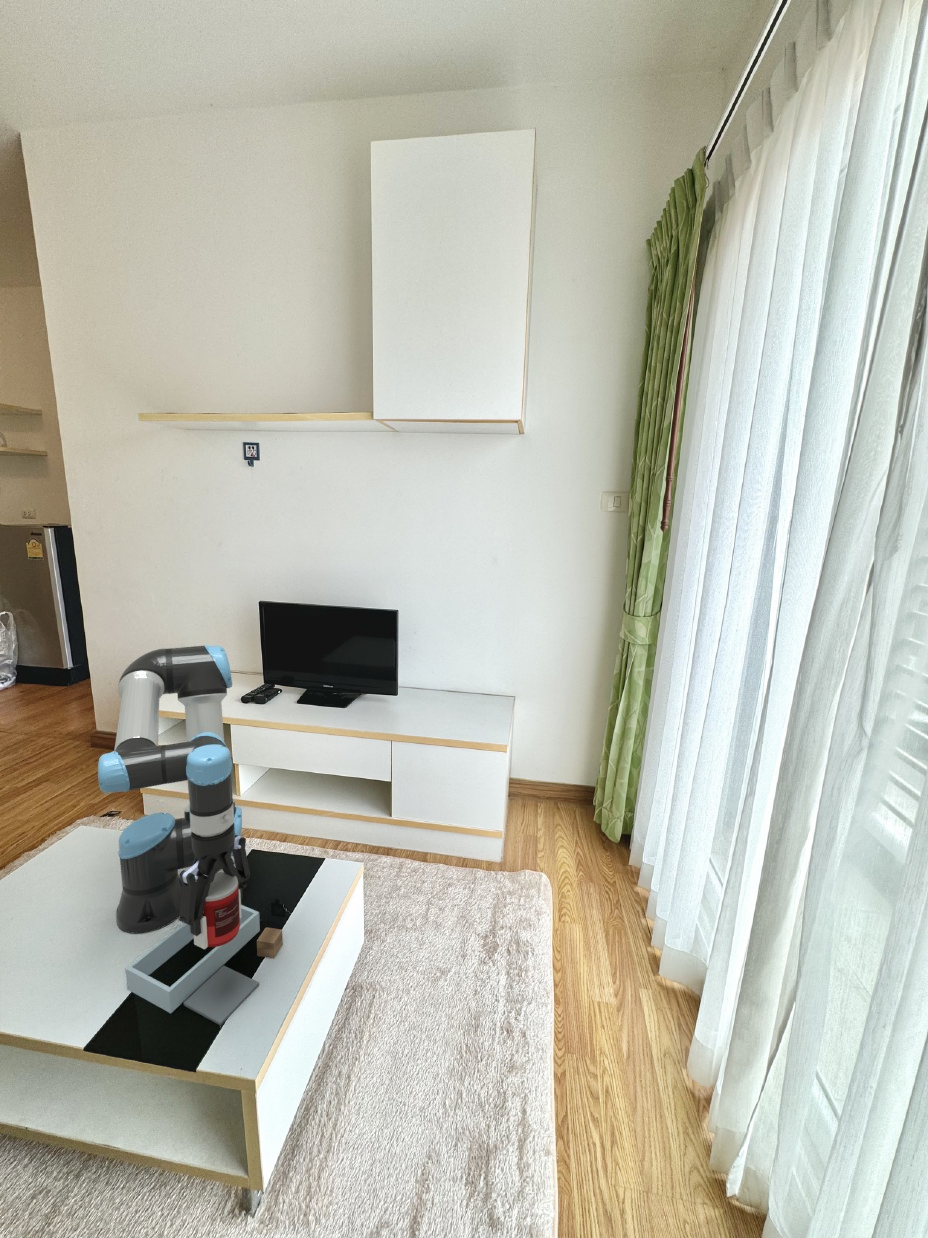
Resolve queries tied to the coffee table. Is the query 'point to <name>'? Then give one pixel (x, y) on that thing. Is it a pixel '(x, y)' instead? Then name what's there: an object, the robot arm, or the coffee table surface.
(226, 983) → the pad
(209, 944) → the canned food
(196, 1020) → the coffee table surface
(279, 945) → the walnut block
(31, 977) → the coffee table surface
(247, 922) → the bin
